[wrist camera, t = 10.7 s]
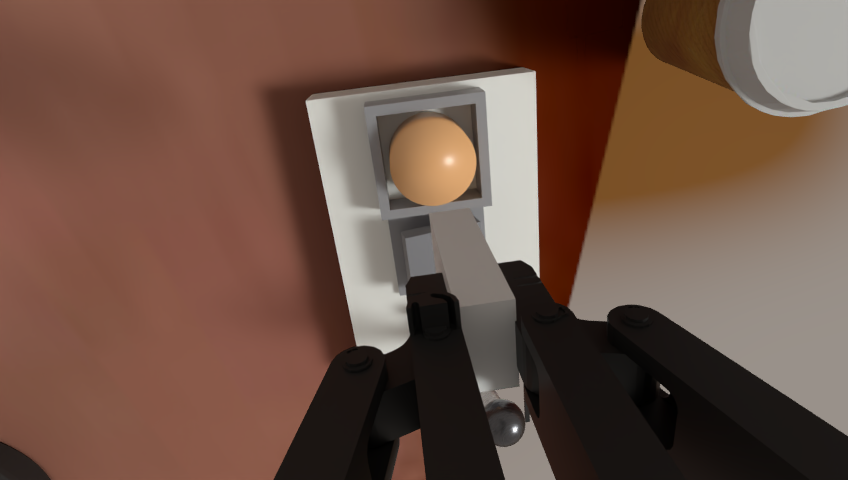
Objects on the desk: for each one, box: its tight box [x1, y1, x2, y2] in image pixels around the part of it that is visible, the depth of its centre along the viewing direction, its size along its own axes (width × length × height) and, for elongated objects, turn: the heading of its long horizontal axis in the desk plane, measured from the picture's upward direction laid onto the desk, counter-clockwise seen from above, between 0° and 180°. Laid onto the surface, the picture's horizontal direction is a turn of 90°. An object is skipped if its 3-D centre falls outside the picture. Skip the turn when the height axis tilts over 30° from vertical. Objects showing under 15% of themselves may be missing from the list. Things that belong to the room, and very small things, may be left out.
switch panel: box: [306, 67, 539, 354], centre depth 34 cm, size 14×22×5 cm, turn 7°
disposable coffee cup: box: [642, 0, 848, 117], centre depth 26 cm, size 10×10×12 cm
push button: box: [389, 112, 476, 206], centre depth 29 cm, size 5×5×3 cm
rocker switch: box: [401, 217, 481, 281], centre depth 32 cm, size 5×6×2 cm
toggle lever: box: [480, 390, 525, 447], centre depth 32 cm, size 3×3×10 cm
